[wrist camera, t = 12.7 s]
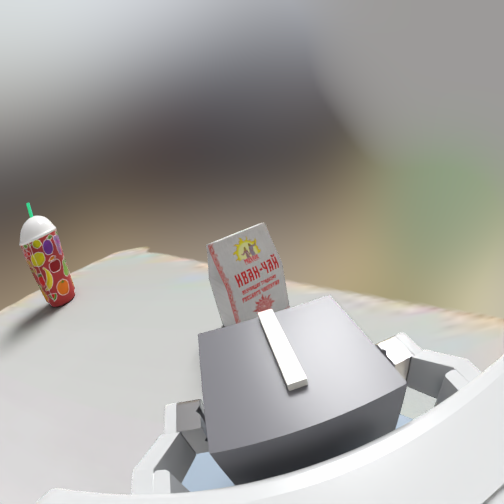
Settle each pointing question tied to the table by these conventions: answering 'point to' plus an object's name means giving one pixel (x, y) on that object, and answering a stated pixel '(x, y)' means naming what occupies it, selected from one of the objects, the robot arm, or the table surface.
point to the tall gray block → (294, 390)
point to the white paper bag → (246, 275)
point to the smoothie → (46, 259)
